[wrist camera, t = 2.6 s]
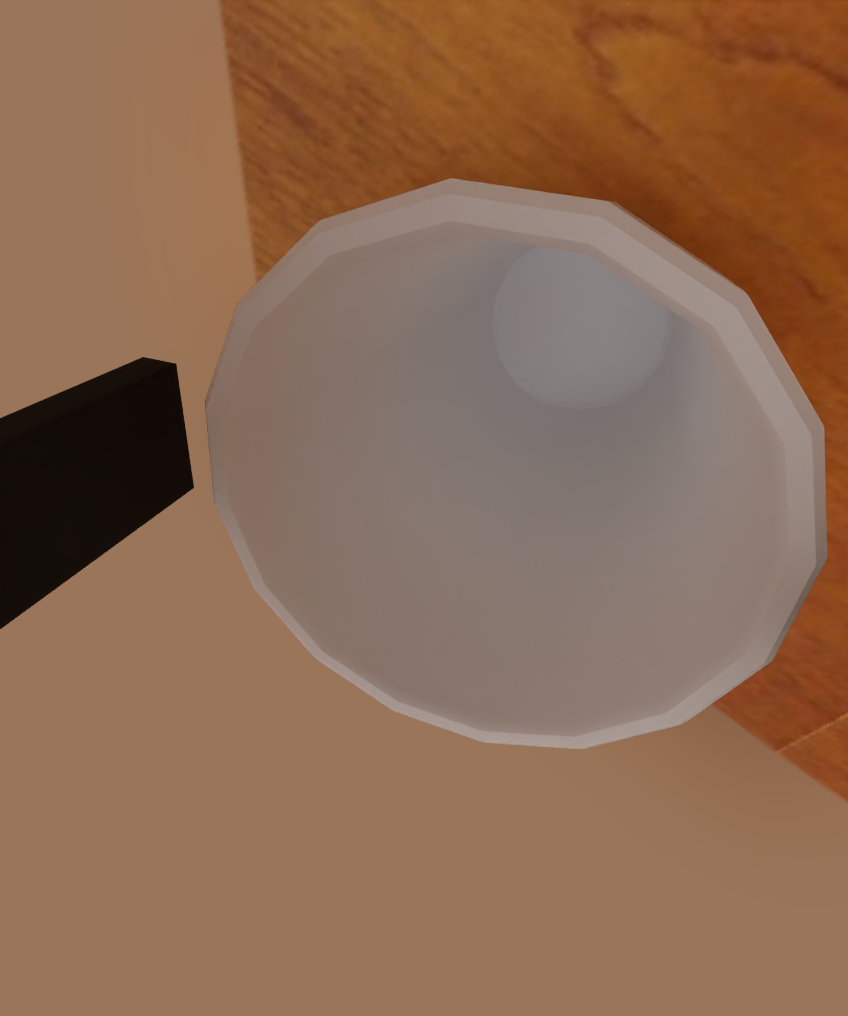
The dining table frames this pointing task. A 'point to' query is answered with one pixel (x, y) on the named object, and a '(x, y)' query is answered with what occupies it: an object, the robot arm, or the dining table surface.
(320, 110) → the dining table surface
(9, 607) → the robot arm
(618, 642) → the cup
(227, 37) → the dining table surface
